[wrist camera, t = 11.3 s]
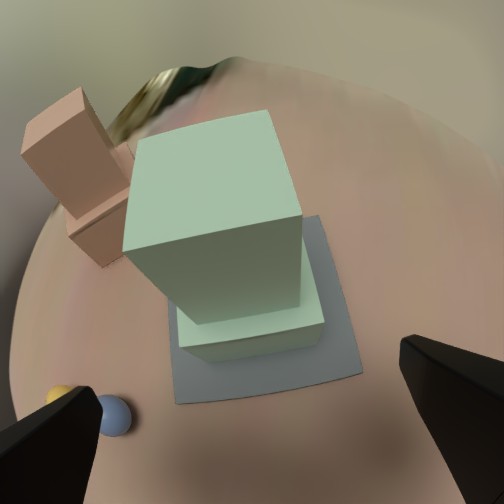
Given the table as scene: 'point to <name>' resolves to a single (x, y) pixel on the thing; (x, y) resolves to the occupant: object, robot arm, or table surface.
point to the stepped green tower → (224, 238)
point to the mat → (280, 363)
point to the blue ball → (114, 416)
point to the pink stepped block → (82, 173)
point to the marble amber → (57, 392)
